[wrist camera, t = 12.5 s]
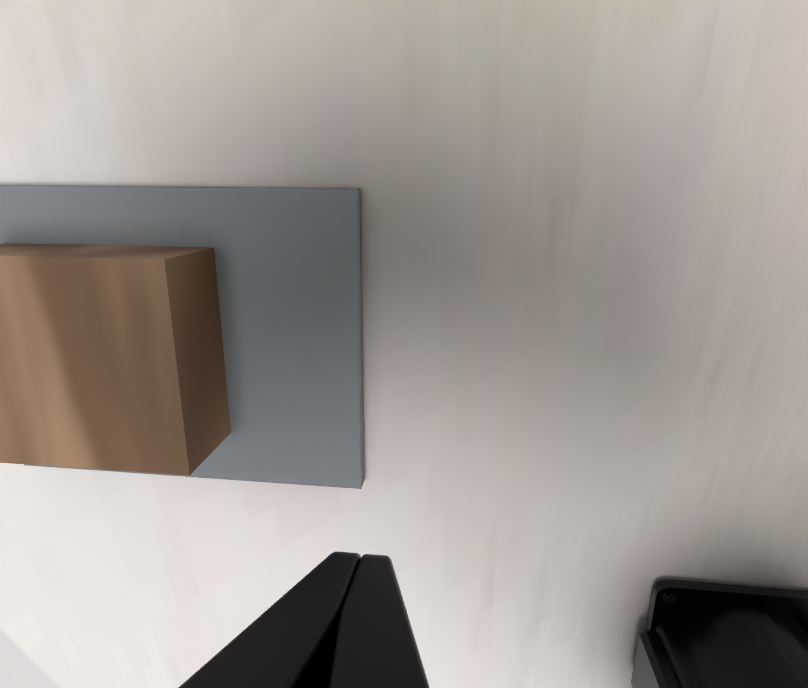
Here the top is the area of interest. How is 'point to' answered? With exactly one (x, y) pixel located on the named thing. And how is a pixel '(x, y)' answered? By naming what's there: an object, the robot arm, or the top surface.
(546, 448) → the top surface
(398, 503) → the top surface
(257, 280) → the mat
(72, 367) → the walnut slab
